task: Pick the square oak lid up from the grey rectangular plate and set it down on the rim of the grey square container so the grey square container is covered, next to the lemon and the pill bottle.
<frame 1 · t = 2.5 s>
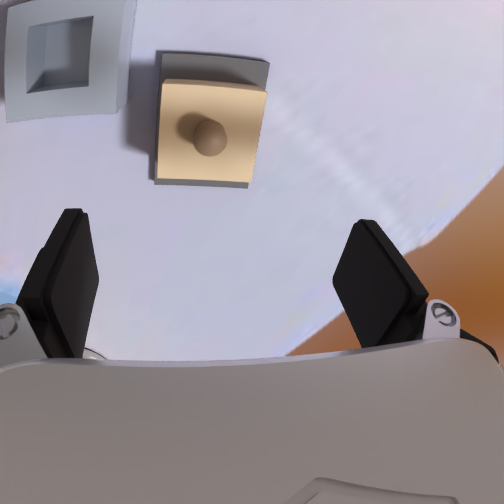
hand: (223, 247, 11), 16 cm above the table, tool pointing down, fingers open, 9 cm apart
lid: (207, 123, 23), point 1 cm above the table, touching grey rectangular plate
grey rectangular plate: (207, 121, 23), on the table
grey square container: (76, 51, 17), on the table
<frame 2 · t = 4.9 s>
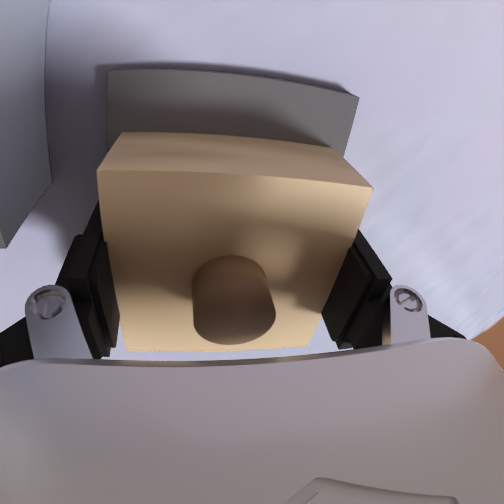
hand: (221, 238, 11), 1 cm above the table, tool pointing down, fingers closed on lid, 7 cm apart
lid: (220, 227, 12), point 1 cm above the table, touching gripper, grey rectangular plate
grey rectangular plate: (219, 218, 12), on the table
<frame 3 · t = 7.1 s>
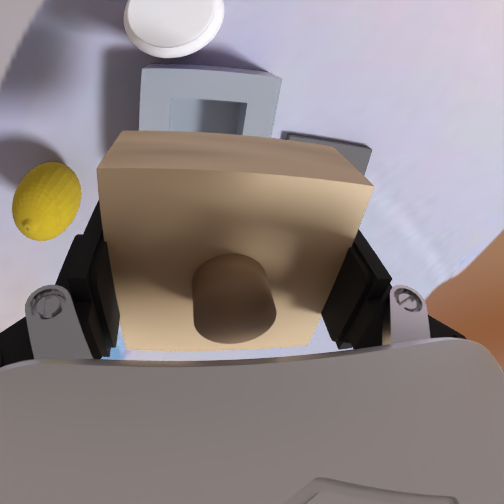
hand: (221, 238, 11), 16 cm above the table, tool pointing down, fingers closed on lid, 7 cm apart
lid: (220, 226, 12), point 15 cm above the table, touching gripper
grey rectangular plate: (316, 194, 29), on the table
pill bottle: (179, 21, 18), on the table
lemon: (64, 176, 24), on the table
grey square container: (203, 120, 23), on the table
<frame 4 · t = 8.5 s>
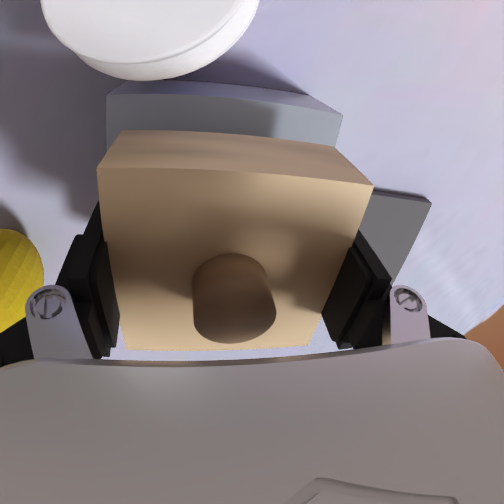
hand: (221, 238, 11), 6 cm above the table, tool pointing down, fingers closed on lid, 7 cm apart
lid: (220, 225, 12), point 6 cm above the table, touching gripper
grey rectangular plate: (358, 258, 22), on the table
pill bottle: (173, 11, 11), on the table
lemon: (24, 239, 17), on the table
grey square container: (211, 167, 16), on the table
when the fingers open (6 cm above the table, at t = 9.5 s): lid drops 1 cm, resting on grey square container.
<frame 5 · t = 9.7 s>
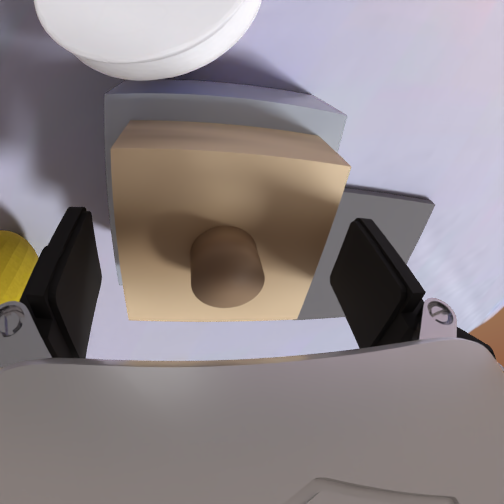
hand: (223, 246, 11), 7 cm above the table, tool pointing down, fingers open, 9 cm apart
lid: (216, 207, 13), point 4 cm above the table, touching grey square container
grey rectangular plate: (360, 260, 22), on the table
pill bottle: (173, 9, 11), on the table
lemon: (22, 240, 16), on the table
grey square container: (212, 167, 16), on the table
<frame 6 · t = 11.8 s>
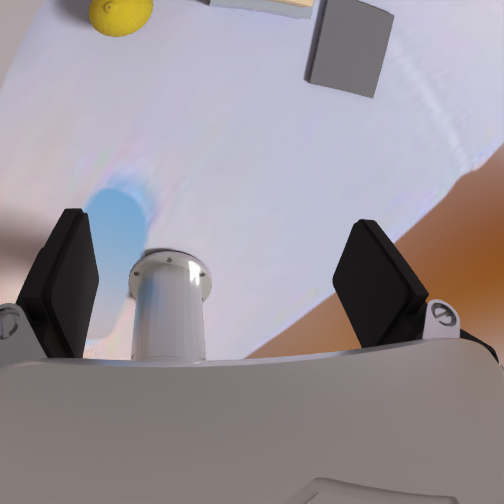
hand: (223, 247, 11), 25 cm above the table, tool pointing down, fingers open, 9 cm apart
grey rectangular plate: (351, 45, 27), on the table
lemon: (131, 10, 22), on the table
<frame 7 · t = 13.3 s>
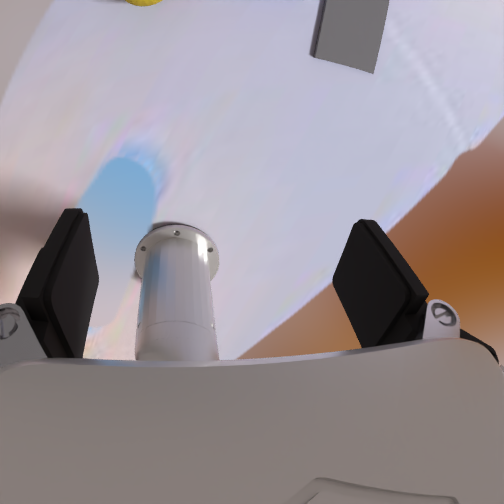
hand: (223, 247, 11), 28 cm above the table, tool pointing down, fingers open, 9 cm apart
grey rectangular plate: (352, 25, 29), on the table
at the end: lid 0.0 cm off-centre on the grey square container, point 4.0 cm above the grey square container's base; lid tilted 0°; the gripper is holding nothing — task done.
